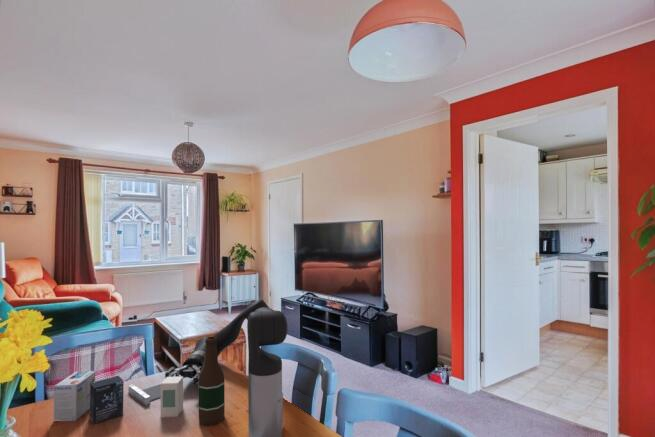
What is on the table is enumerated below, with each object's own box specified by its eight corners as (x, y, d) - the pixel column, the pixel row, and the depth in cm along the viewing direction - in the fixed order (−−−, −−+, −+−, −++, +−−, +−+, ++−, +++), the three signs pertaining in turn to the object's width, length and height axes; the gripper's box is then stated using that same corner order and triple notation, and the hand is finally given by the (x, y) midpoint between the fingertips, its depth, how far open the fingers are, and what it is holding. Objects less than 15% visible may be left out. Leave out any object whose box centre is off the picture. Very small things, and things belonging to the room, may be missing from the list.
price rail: (134, 391, 129) (134, 383, 129) (151, 403, 120) (151, 396, 120) (128, 393, 127) (128, 385, 128) (145, 405, 118) (145, 398, 118)
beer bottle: (203, 412, 114) (203, 333, 114) (228, 412, 113) (228, 334, 114) (193, 426, 106) (193, 341, 106) (220, 426, 106) (220, 341, 106)
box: (93, 424, 107) (94, 387, 107) (89, 417, 111) (89, 382, 111) (123, 415, 112) (124, 380, 113) (118, 408, 117) (118, 374, 117)
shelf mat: (169, 382, 136) (169, 381, 136) (182, 390, 129) (182, 389, 129) (134, 393, 127) (134, 392, 127) (146, 402, 120) (146, 401, 120)
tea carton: (183, 408, 116) (183, 376, 117) (177, 417, 111) (177, 383, 111) (166, 409, 116) (167, 376, 116) (160, 417, 111) (160, 383, 111)
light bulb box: (74, 405, 119) (74, 371, 119) (95, 404, 120) (96, 370, 120) (52, 422, 109) (52, 385, 109) (76, 421, 109) (76, 384, 109)
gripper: (176, 354, 138) (159, 370, 122) (215, 353, 139) (203, 369, 123) (176, 374, 138) (159, 393, 122) (215, 373, 139) (203, 392, 123)
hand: (181, 381), depth 122 cm, fingers open, 8 cm apart
